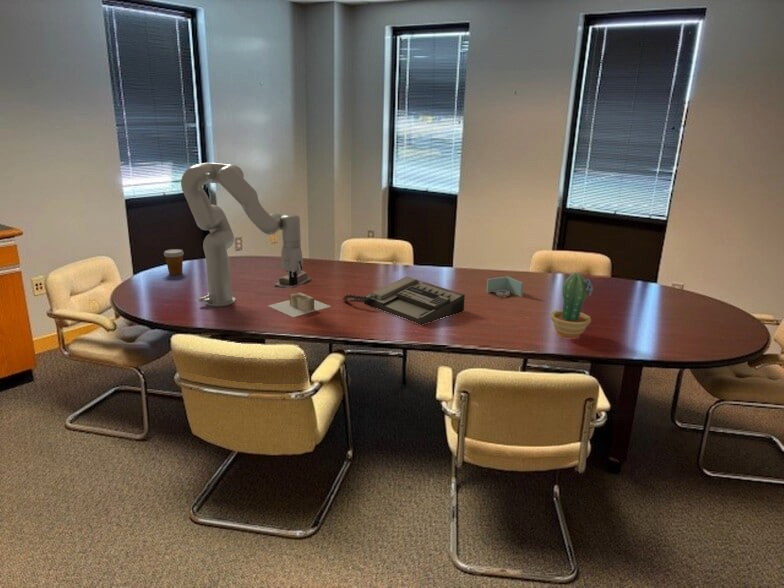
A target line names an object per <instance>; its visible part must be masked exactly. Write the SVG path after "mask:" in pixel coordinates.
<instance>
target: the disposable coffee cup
mask: <svg viewBox="0 0 784 588" xmlns="http://www.w3.org/2000/svg"><path fill="white" fill-rule="evenodd" d="M184 254H185V253H184V251H183V249H179V248H175V249H174V248H171V249H167V250H164V252H163V255H164V257H165V261H166V266H167V271H168V273H169V275H170V276H180V275H182V274H183V267H184V266H183V265H184V264H183V260H184Z"/></svg>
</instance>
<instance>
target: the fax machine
mask: <svg viewBox="0 0 784 588" xmlns="http://www.w3.org/2000/svg"><path fill="white" fill-rule="evenodd" d="M465 296H466V295H465V294H463V293H460V292H457V291H455V290H452V289H447V288H445V287H441V286H439V285H434V284H432V283H429V282H425V281H423V280H419V279H416V278H413V277H411V276H404V277H402V278H400V279H398V280H396V281H394V282H392V283H389V284H387V285H385V286H382V287H381V288H379V289H377V290H375V291H373V292H371V293H369V294H367V295H364V296H362V295H354V294H353V295H352V294H346V295H344V296H343V298H341V299H342V300H344V301H347V302H363V303H364V305H366V304H367V305H366V306H368V305H370V306H369V307H371V306H372V307H371V308H373V307H375V308H374V309H376V308H378V309H381V310H383V311H382V312H384V311H386V312H389V313H392V314H394V315H397V316H400V317H403V318H406V319H408V320H410V321H413V322H416V323H418V324H420V325H422V324H425V323H428V322H432V321H434V320H437V319H440V318H443V317H446V316H450V315H452V316H454V315H453V314H455V315H457V314H456V313H458V314H460V313H459V312H461V313H463V312H462V311H464V312H465V299H466V298H465ZM349 299H350V300H349ZM378 309H377V310H378ZM381 310H380V311H381ZM386 312H385V313H386ZM389 313H388V314H389ZM394 315H393V316H394ZM450 317H451V316H450ZM432 323H433V322H432Z"/></svg>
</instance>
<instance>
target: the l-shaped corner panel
mask: <svg viewBox="0 0 784 588" xmlns="http://www.w3.org/2000/svg"><path fill="white" fill-rule="evenodd" d="M486 280H487V281H486V292H487V293H488V292H494V291H496V292H494V293H495V295H496V294H497V295H499V296H498V297H501V296H506V297H507V296H508V297H509V296H510V295H511V294H512V293H514V294H516V295H519V296H522V297H523V291H524V284H525V283H524V282H523V281H519V280H517V279H515V278H512V277H510V276H507V275H506V276H501V277H493V278H487V279H486ZM506 290H507V291H506ZM486 292H485V293H486ZM501 292H503V293H501ZM510 292H512V293H510ZM487 293H486V294H487ZM488 294H489V293H488ZM514 294H513V295H514ZM497 295H496V296H497ZM516 295H515V296H516ZM519 296H518V297H519Z"/></svg>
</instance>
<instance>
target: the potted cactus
mask: <svg viewBox="0 0 784 588" xmlns="http://www.w3.org/2000/svg"><path fill="white" fill-rule="evenodd" d="M588 292H589V296H591V295H592V293H593V292H594V287H593V283H592V282H591V280H590V279H589V278H585V277H584V275H582V274H581V273H579V274H577V273H576V272H575V273H574V274H571V275H570V276H569V277H567V278H566V280H565V281H564V282H563V283H562V298H563V307H562V310H561V309H560V310H559V309H558V310H554V311H552V312H550V314H549V315H550V318H551V319H550V320H551V321H552V323H553V327H554V329H555V330H556V333H557V334H556V336H557V335H558V336H560V337H564V338H571V339H575V338H578V337H580V338H581V334H582V333H584V332H585V331H586V329H587V328H588V325H590V324H591V322H592V318H591V316H590V315H588V314H586V313H584V312H581V311H582V307H583V305H584V303H585V301H586V299H587V297H588ZM558 336H557V337H558ZM560 337H559V338H560Z"/></svg>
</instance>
